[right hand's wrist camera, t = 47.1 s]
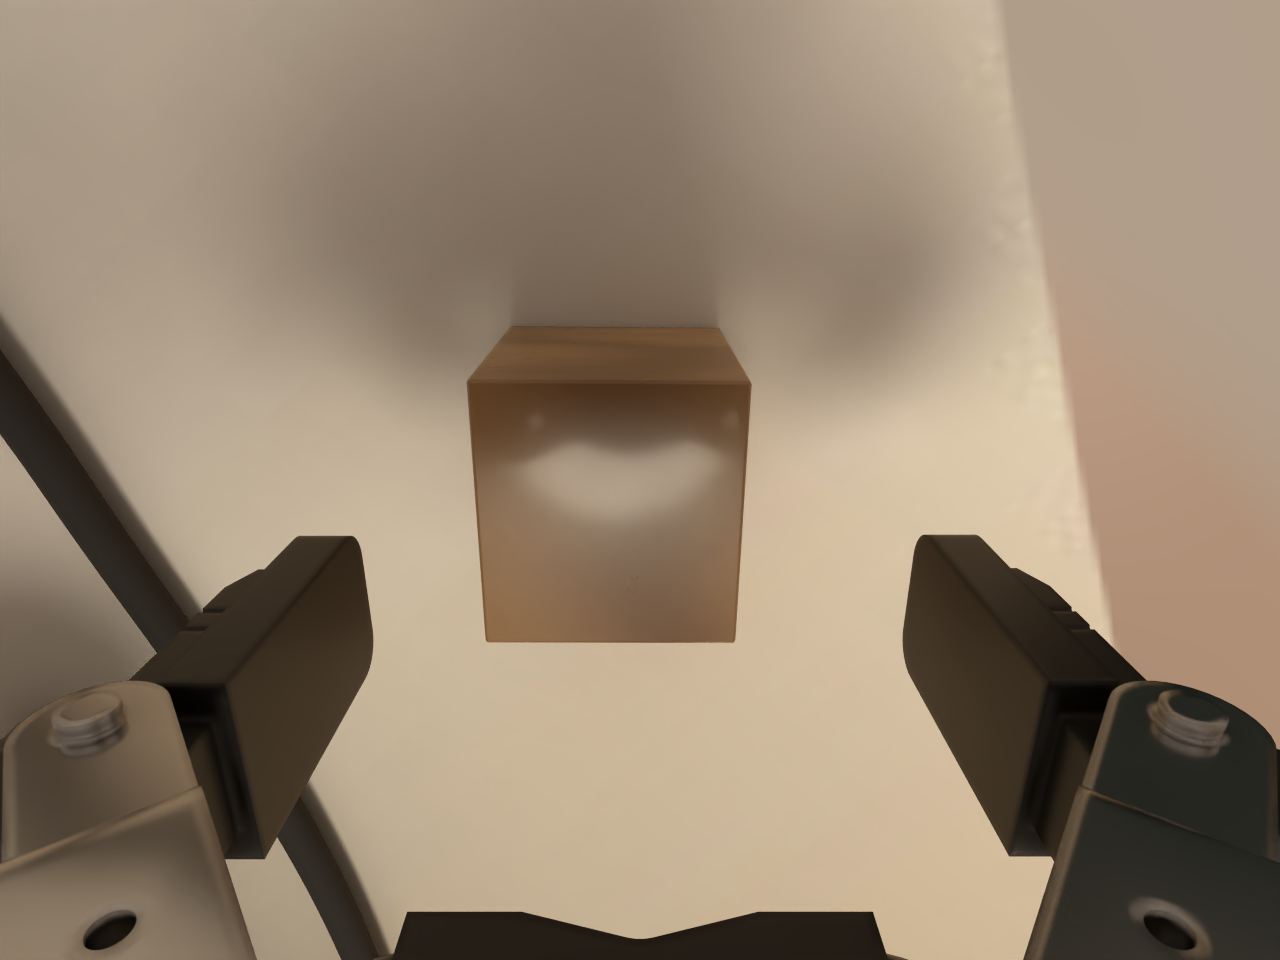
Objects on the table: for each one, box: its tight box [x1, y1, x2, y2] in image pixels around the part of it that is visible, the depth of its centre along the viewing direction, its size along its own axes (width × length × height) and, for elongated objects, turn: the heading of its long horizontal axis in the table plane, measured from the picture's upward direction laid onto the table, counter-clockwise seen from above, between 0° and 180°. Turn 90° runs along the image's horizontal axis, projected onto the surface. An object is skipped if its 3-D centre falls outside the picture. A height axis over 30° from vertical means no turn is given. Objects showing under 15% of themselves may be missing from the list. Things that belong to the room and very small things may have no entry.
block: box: [467, 327, 751, 643], centre depth 15 cm, size 4×5×5 cm
